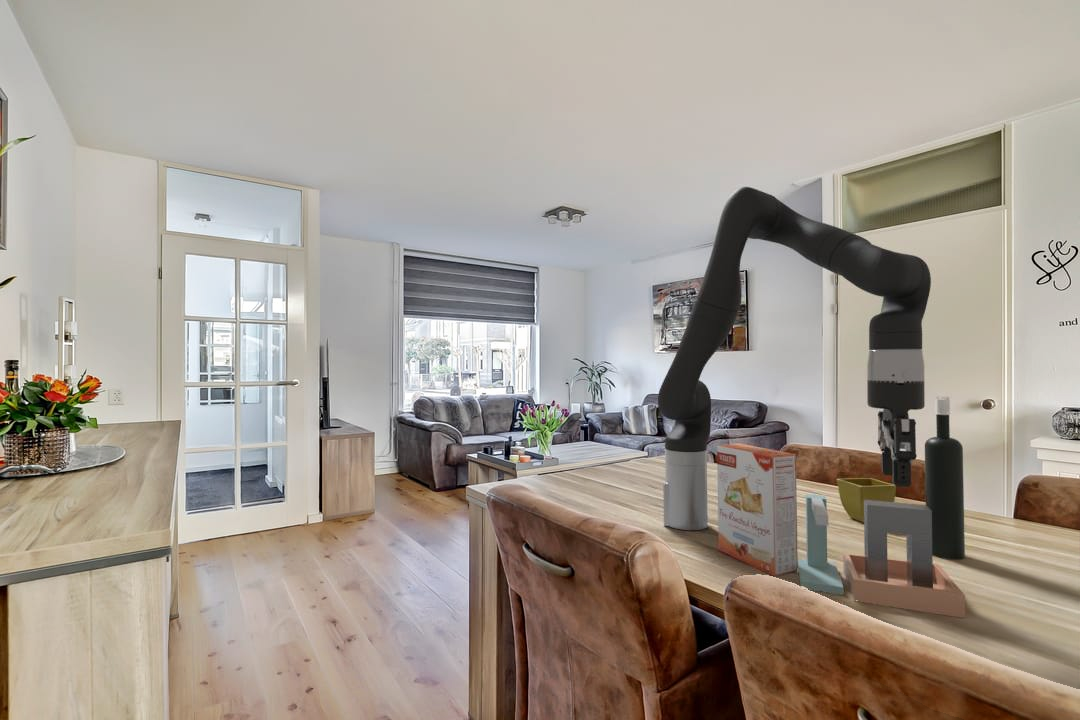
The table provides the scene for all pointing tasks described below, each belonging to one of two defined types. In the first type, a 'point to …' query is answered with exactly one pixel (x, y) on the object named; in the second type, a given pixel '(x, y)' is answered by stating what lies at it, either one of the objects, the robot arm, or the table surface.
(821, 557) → the peg stand
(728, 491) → the cracker box
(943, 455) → the wine bottle
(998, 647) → the table surface
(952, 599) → the tray
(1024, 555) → the table surface
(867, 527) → the grey arch block
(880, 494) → the flower pot
